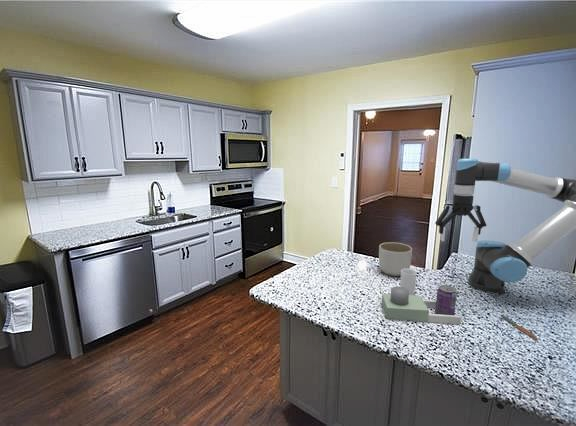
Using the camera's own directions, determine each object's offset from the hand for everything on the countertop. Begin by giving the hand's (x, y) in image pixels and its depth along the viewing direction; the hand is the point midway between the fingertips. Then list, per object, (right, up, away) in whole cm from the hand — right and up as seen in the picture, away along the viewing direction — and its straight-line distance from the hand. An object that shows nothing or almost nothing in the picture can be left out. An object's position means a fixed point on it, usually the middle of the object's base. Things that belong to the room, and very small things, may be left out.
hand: (458, 241), depth 129 cm
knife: (+11, -32, -19) cm, 39 cm away
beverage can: (-12, -30, -10) cm, 34 cm away
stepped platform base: (-22, -30, -8) cm, 38 cm away
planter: (-18, -21, +31) cm, 42 cm away
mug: (-20, -26, +8) cm, 34 cm away
